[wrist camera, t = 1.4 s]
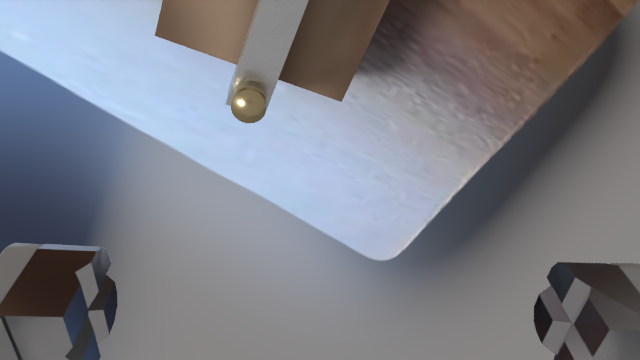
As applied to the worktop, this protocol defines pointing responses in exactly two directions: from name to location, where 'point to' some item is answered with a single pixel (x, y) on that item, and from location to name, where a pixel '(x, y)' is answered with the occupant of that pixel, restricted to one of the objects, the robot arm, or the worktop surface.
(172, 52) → the worktop surface
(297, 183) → the worktop surface
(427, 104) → the worktop surface
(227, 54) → the jamb block
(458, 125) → the worktop surface
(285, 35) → the lock bar
